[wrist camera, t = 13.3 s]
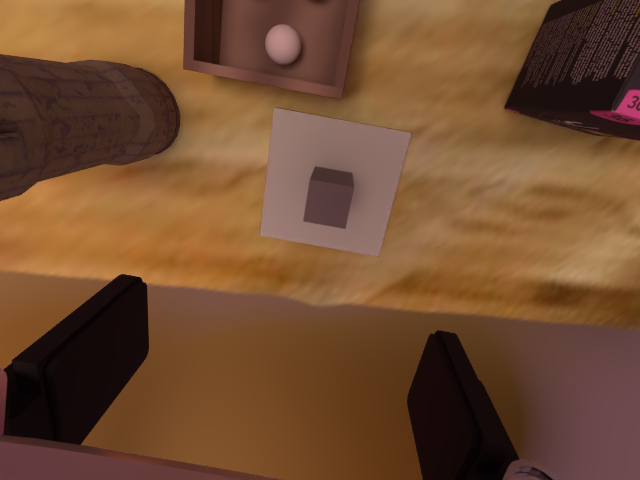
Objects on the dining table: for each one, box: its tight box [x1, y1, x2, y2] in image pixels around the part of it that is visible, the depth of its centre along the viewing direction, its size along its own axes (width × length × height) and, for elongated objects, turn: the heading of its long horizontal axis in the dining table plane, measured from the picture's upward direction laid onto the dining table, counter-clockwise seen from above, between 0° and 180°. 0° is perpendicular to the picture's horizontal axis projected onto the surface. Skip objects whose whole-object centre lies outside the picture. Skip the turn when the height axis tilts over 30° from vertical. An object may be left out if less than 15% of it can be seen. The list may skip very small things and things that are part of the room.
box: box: [183, 0, 360, 99], centre depth 29 cm, size 13×13×7 cm
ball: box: [265, 24, 301, 65], centre depth 31 cm, size 3×3×3 cm
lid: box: [260, 107, 411, 257], centre depth 35 cm, size 14×14×8 cm
